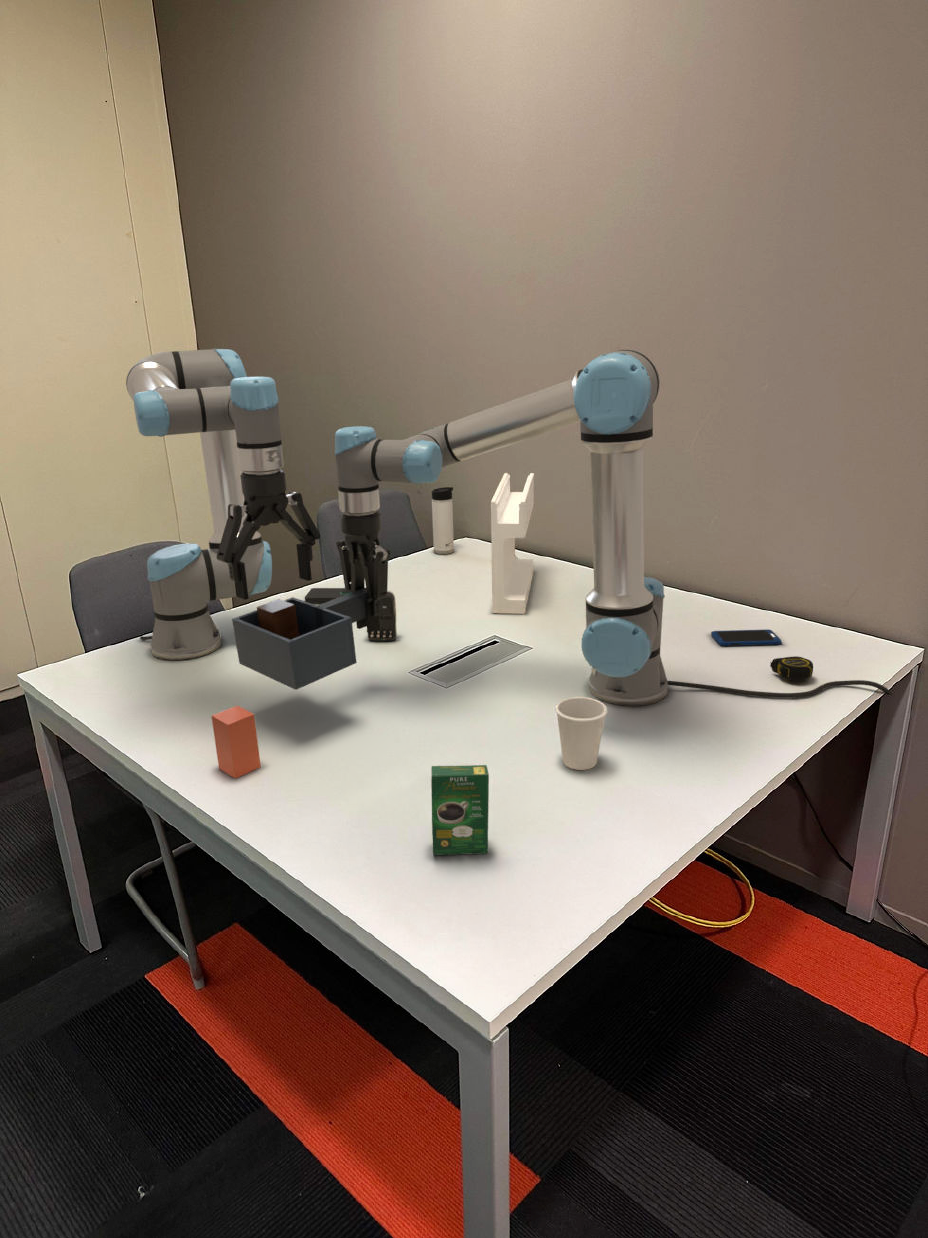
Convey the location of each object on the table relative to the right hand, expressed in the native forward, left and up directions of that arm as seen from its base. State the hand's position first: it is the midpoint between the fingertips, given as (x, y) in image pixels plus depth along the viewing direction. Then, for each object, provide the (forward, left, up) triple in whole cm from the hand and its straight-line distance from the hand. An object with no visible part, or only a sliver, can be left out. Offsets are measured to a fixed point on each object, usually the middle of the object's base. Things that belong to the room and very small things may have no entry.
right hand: (368, 628), depth 168 cm
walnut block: (+17, +6, -1) cm, 18 cm away
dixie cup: (-27, +41, -13) cm, 51 cm away
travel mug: (-40, -90, -13) cm, 99 cm away
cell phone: (-84, +3, -13) cm, 85 cm away
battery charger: (-7, -25, -13) cm, 29 cm away
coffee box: (-2, +58, -13) cm, 59 cm away
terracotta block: (+27, +24, -13) cm, 39 cm away
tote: (+9, +5, -2) cm, 10 cm away
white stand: (-47, -47, -13) cm, 68 cm away
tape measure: (-81, +24, -13) cm, 86 cm away
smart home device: (-4, -56, -13) cm, 58 cm away
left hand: (+17, +6, +12) cm, 22 cm away
